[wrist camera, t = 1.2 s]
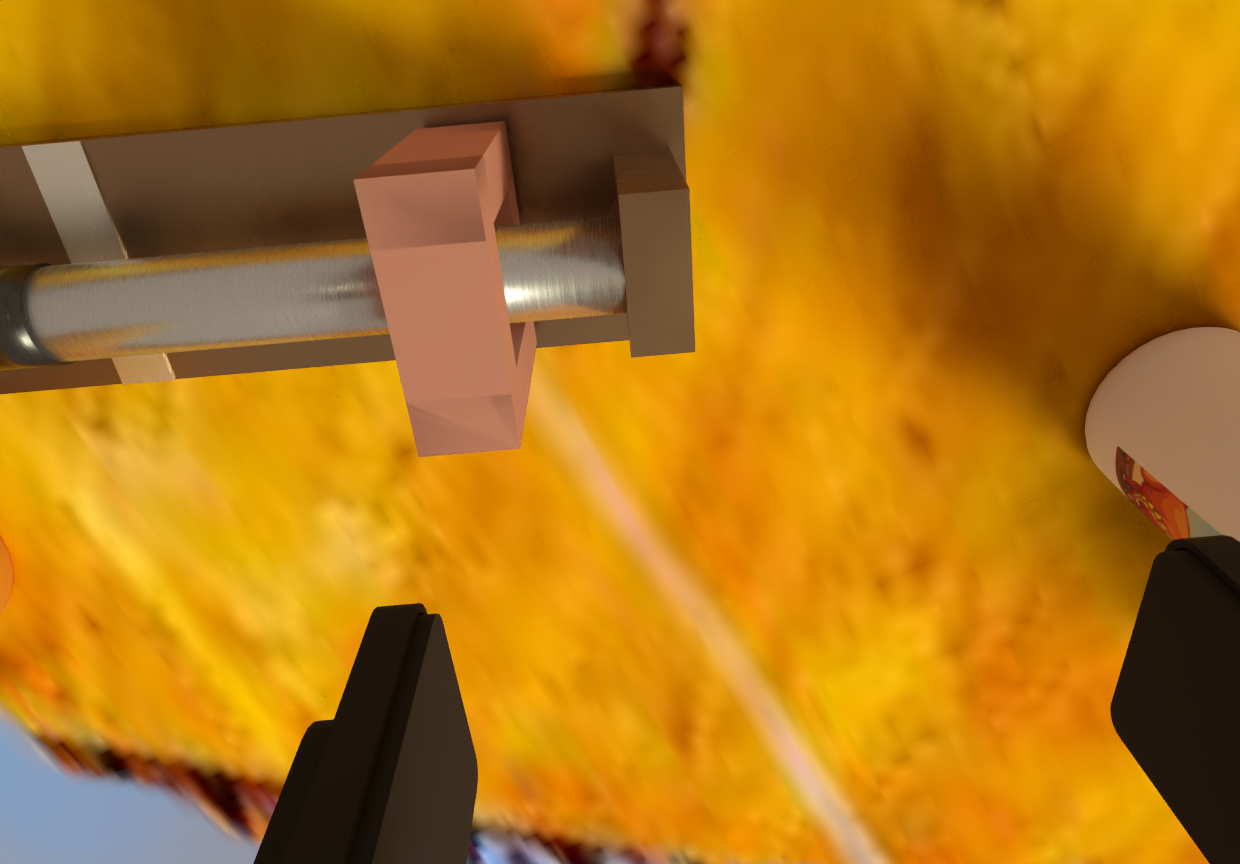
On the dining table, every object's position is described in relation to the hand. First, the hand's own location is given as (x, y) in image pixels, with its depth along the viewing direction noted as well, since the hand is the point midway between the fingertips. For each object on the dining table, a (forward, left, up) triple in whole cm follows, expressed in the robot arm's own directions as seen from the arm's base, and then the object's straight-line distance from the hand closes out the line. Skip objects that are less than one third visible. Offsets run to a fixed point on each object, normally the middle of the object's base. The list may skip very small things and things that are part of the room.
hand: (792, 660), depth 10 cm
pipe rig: (0, -15, -23) cm, 27 cm away
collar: (0, -7, -21) cm, 22 cm away
